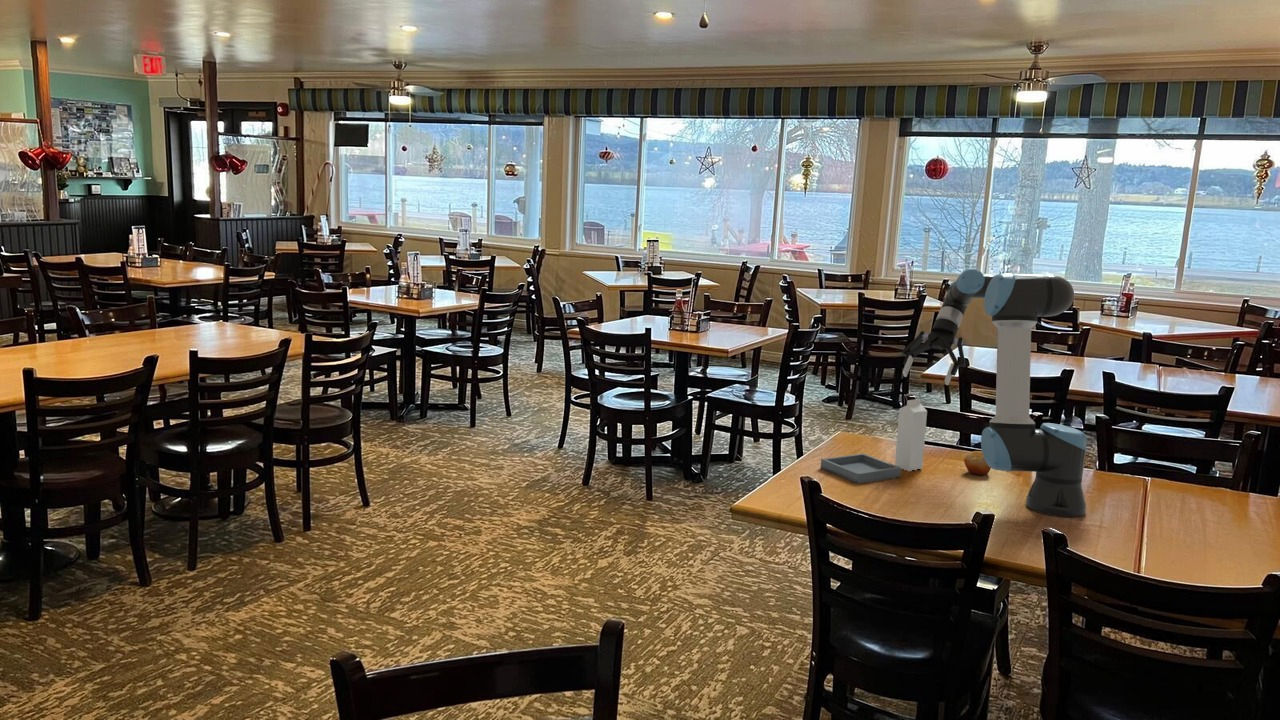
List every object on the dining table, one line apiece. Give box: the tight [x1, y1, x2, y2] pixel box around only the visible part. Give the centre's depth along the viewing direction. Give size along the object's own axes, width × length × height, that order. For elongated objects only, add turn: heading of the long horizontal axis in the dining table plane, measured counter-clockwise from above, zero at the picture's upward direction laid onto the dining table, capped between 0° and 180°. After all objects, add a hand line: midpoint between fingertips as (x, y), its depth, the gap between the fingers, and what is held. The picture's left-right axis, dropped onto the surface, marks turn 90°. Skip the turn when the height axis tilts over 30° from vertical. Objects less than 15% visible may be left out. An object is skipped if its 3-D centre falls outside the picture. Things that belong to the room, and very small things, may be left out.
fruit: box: [963, 450, 992, 476], centre depth 290 cm, size 8×8×8 cm
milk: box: [894, 398, 928, 472], centre depth 292 cm, size 6×6×22 cm
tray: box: [820, 453, 902, 485], centre depth 287 cm, size 17×17×3 cm
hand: (925, 378), depth 294 cm, fingers open, 13 cm apart
